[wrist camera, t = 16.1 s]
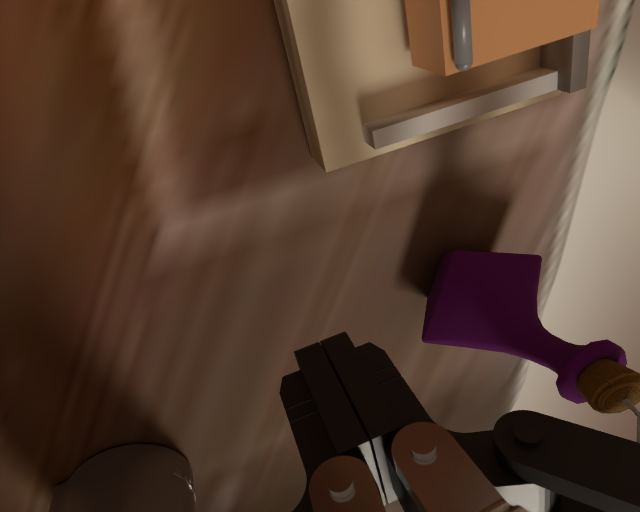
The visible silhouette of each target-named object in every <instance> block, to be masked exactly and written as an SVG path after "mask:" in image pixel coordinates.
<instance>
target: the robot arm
mask: <svg viewBox="0 0 640 512" xmlns="http://www.w3.org/2000/svg"><path fill="white" fill-rule="evenodd" d="M320 343H321V345H320ZM320 343H319V342H317V343H315V344H312V345H309V346H307V347H304V348H302V349H299V350H297V351H294V354H295V357H296V360H297V363H298V366H299V369H300V370H299V371H296V372H294V373H291V374H289V375H286V376H284V377H282V383H281V388H280V396H281V399H282V402H283V405H284V408H285V411H286V414H287V417H288V420H289V423H290V426H291V429H292V432H293V435H294V438H295V441H296V444H297V447H298V450H299V453H300V456H301V459H302V462H303V465H304V467H305V471H306V475H307V484H306V489H305V493H304V495H303V497H302V499H301V501H300V503H299V504H298V505H297V507H296V508H295V509H294V510H293V511H292V512H386V510H385V507H384V505H386V503H385V499H384V496H383V493H384V495H385V497H386V499H387V501H388V503H390V502H393V501H395V500H397V499H398V500H399V502H400V504H401V506H402V508H403V510H404V512H640V443H638V442H634V441H631V440H628V439H624V438H621V437H617V436H614V435H611V434H608V433H604V432H601V431H597V430H594V429H591V428H588V427H584V426H581V425H578V424H574V423H571V422H568V421H564V420H561V419H557V418H554V417H551V416H548V415H544V414H540V413H538V412H533V411H528V410H518V411H512V412H509V413H507V414H505V415H503V416H502V417H501V418H500V419H499V420H498V421H497V422H496V424H495V426H494V430H490V431H481V432H473V433H458V432H453V431H450V430H447V429H444V428H443V427H441V426H439V425H438V424H436V423H435V422H434V421H433V420H432V419H431V418H430V417H429V415H428V414H427V412H426V411H425V409H424V408H423V406H422V405H421V404H420V402H419V401H418V399H417V398H416V396H415V395H414V393H413V392H412V390H411V389H410V387H409V386H408V385H407V383H406V382H405V380H404V379H403V377H401V374H400V373H399V371H398V370H397V368H396V367H394V364H393V363H392V361H391V360H390V358H389V357H388V355H387V354H386V352H385V351H384V350H382V349H381V348H379V347H377V346H376V345H374V344H372V343H370V342H369V343H366V344H364V345H361V346H359V347H356V348H355V346H354V345H353V343H352V341H351V340H350V338H349V336H348V335H347V333H346V332H342V333H340V334H337V335H335V336H332V337H329V338H327V339H324V340H322V341H320ZM382 491H383V492H382ZM49 512H196V508H195V489H194V484H193V473H192V469H191V467H190V464H189V463H188V461H187V460H186V459H185V458H184V457H183V456H182V455H180V454H179V453H177V452H176V451H174V450H171V449H169V448H167V447H163V446H158V445H153V444H133V445H124V446H120V447H116V448H112V449H109V450H107V451H104V452H102V453H99V454H97V455H95V456H94V457H92V458H90V459H89V460H87V461H86V462H84V463H83V464H82V465H81V466H80V467H79V468H77V469H76V471H75V472H74V473H73V475H72V476H71V477H70V478H69V479H68V481H66V482H64V483H63V484H60V485H57V486H55V487H54V488H53V493H52V498H51V504H50V509H49Z"/></svg>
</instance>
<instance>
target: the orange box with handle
mask: <svg viewBox="0 0 640 512" xmlns="http://www.w3.org/2000/svg"><path fill="white" fill-rule="evenodd" d="M405 8H406V16H407V25H408V34H409V42H410V51H411V60H412V66H415V67H418V68H421V69H424V70H428V71H431V72H434V73H437V74H440V75H443V76H448V75H451V74H454V73H457V72H461V71H467V70H468V69H470V68H473V67H476V66H479V65H482V64H485V63H488V62H492V61H495V60H498V59H501V58H504V57H507V56H510V55H513V54H516V53H519V52H523V51H526V50H529V49H532V48H535V47H538V46H541V45H544V44H547V43H550V42H554V41H557V40H560V39H563V38H566V37H569V36H572V35H575V34H578V33H582V32H585V31H588V30H591V29H594V28H597V22H598V10H599V0H405Z"/></svg>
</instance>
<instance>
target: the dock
mask: <svg viewBox="0 0 640 512" xmlns="http://www.w3.org/2000/svg"><path fill="white" fill-rule="evenodd" d="M274 4H275V8H276V12H277V16H278V21H279V25H280V29H281V33H282V37H283V41H284V45H285V50H286V54H287V58H288V62H289V66H290V70H291V74H292V79H293V83H294V87H295V91H296V95H297V99H298V103H299V107H300V112H301V116H302V120H303V124H304V128H305V132H306V136H307V141H308V145H309V149H310V153H311V157H312V158H313V159H314V160H315V161H316V162H317V163H318V164H319V165H320V166H321V168H322V169H323V170H324V171H325V172H326V173H327V172H330V171H333V170H336V169H339V168H342V167H345V166H348V165H351V164H354V163H357V162H360V161H363V160H366V159H369V158H372V157H375V156H378V155H381V154H384V153H387V152H390V151H393V150H396V149H399V148H402V147H405V146H408V145H411V144H414V143H417V142H420V141H423V140H426V139H429V138H432V137H435V136H438V135H441V134H444V133H447V132H450V131H453V130H456V129H459V128H462V127H465V126H468V125H471V124H474V123H477V122H480V121H483V120H486V119H489V118H492V117H495V116H498V115H501V114H504V113H507V112H510V111H513V110H516V109H519V108H522V107H525V106H528V105H531V104H534V103H537V102H540V101H543V100H546V99H549V98H552V97H555V96H558V95H561V91H564V92H568V93H572V92H575V91H578V90H581V89H584V88H586V82H587V69H588V56H589V43H590V30H588V31H585V32H582V33H578V34H575V35H572V36H569V37H566V38H563V39H560V40H557V41H554V42H550V43H547V44H544V45H541V46H538V47H535V48H532V49H529V50H526V51H523V52H519V53H516V54H513V55H510V56H507V57H504V58H501V59H498V60H495V61H492V62H488V63H485V64H482V65H479V66H476V67H473V68H470V69H468V70H467V71H461V72H457V73H454V74H451V75H448V76H443V75H440V74H437V73H434V72H431V71H428V70H424V69H421V68H418V67H415V66H412V60H411V51H410V42H409V34H408V25H407V16H406V8H405V0H274Z"/></svg>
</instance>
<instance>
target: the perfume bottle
mask: <svg viewBox="0 0 640 512" xmlns="http://www.w3.org/2000/svg"><path fill="white" fill-rule="evenodd" d="M541 262H542V258H541V256H539V255H530V254H513V253H497V252H480V251H464V250H454V251H448V252H444V253H443V255H442V257H441V260H440V263H439V266H438V269H437V272H436V275H435V277H434V280H433V283H432V286H431V289H430V292H429V294H428V298H427V305H426V312H425V319H424V326H423V333H422V341H423V342H425V343H431V344H440V345H449V346H458V347H467V348H475V349H482V350H489V351H496V352H504V353H507V354H511V355H515V356H519V357H522V358H525V359H528V360H531V361H533V362H535V363H538V364H540V365H542V366H545V367H547V368H549V369H551V370H553V371H554V372H556V373H557V374H558V378H557V381H556V385H557V388H558V391H559V394H560V395H561V396H562V397H563V398H565V399H567V400H570V401H572V402H574V403H577V404H579V403H584V402H588V403H589V405H590V406H591V407H592V408H593V409H594V410H596V411H598V412H600V413H619V412H622V411H624V410H627V409H629V408H630V409H631V410H632V411H633V412H634V413H635V415H636V416H637V442H638V443H640V412H639V411H638V410H637V409H636V408H635V406H634V405H635V404H637V403H638V402H639V401H640V374H639V373H637V372H635V371H633V370H631V369H629V368H627V367H626V364H627V360H626V355H625V351H624V350H623V349H622V348H621V347H620V346H618V345H616V344H615V343H613V342H611V341H609V340H601V341H595V342H590V343H589V344H587V345H574V344H572V343H568V342H565V341H563V340H562V339H560V338H558V337H556V336H554V335H552V334H551V333H549V332H548V331H547V330H546V329H545V328H544V327H543V326H542V324H541V322H540V320H539V317H538V314H537V292H538V285H539V277H540V269H541Z"/></svg>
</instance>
